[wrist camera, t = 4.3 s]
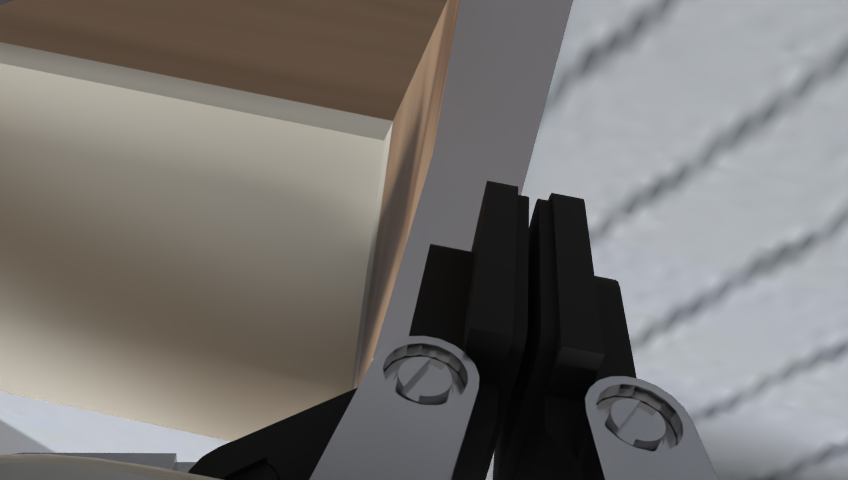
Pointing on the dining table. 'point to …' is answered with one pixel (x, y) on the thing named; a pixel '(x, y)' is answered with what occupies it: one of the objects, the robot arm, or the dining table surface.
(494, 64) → the rubber mat
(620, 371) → the robot arm
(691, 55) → the dining table surface
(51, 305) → the wooden box
